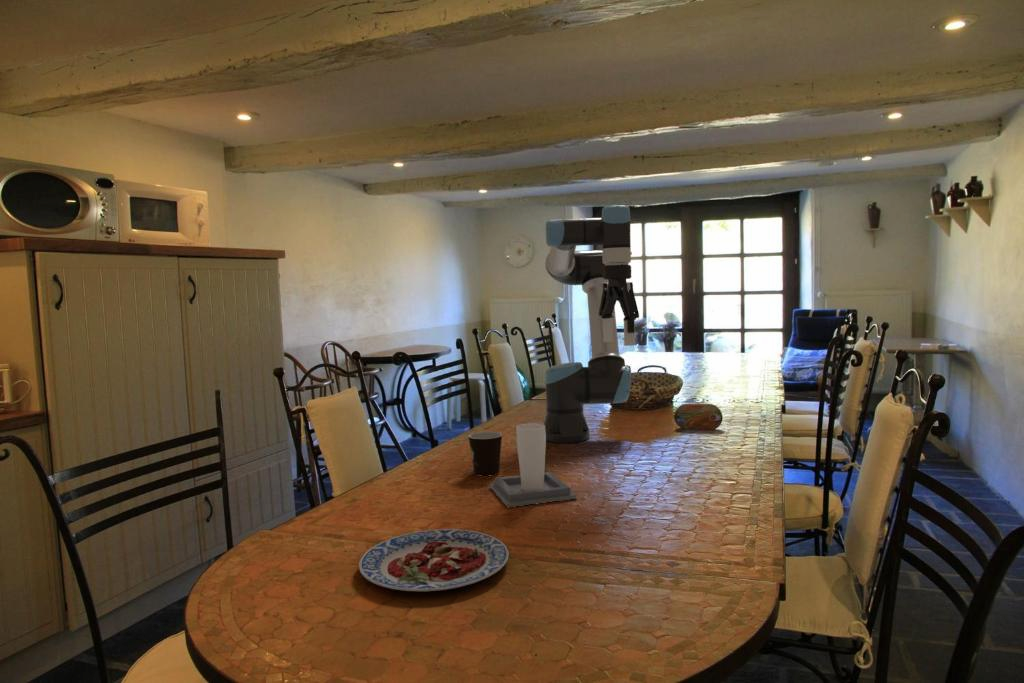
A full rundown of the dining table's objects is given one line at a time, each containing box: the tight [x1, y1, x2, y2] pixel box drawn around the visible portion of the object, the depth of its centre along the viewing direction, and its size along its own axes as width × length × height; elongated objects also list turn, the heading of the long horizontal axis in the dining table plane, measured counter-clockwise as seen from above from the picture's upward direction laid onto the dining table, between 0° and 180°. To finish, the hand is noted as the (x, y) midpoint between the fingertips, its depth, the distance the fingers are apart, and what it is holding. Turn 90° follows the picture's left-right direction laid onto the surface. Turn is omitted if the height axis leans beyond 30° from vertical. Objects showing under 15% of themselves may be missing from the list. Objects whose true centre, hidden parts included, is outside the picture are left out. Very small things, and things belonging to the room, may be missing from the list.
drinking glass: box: [515, 422, 547, 491], centre depth 155 cm, size 7×7×15 cm
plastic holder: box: [489, 471, 577, 508], centre depth 156 cm, size 16×16×2 cm
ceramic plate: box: [358, 528, 510, 592], centre depth 117 cm, size 26×26×3 cm
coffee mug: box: [468, 431, 503, 477], centre depth 176 cm, size 12×9×10 cm
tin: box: [673, 403, 724, 431], centre depth 217 cm, size 15×3×8 cm, turn 73°
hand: (618, 343), depth 181 cm, fingers open, 13 cm apart
